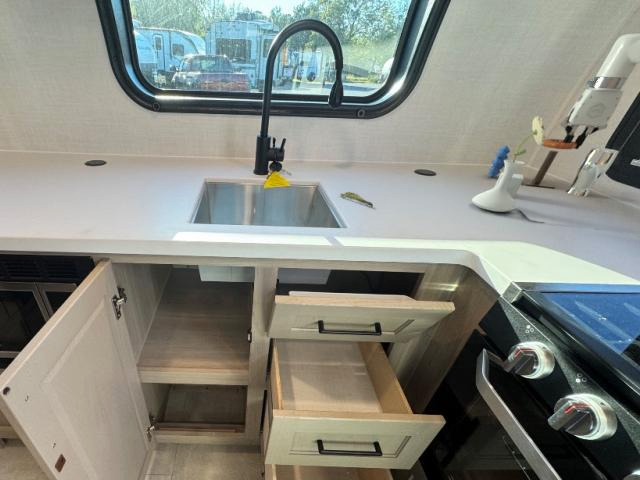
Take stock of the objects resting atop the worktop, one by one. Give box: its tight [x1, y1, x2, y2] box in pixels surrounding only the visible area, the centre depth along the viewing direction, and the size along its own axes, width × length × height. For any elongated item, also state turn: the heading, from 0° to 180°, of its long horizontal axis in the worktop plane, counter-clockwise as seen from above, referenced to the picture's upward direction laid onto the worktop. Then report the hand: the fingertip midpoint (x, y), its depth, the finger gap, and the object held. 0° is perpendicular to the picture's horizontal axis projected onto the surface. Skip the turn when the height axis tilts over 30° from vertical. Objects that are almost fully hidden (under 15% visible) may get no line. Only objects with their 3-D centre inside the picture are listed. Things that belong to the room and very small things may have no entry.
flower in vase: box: [471, 115, 547, 213], centre depth 91 cm, size 13×11×25 cm
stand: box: [520, 149, 559, 190], centre depth 116 cm, size 9×9×12 cm
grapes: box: [488, 145, 511, 178], centre depth 124 cm, size 12×7×12 cm, turn 134°
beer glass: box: [565, 147, 620, 197], centre depth 106 cm, size 7×7×15 cm
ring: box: [541, 138, 577, 150], centre depth 111 cm, size 10×10×2 cm
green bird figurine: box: [339, 191, 374, 209], centre depth 101 cm, size 4×13×2 cm, turn 32°
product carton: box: [494, 171, 525, 199], centre depth 105 cm, size 6×6×7 cm
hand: (569, 147), depth 110 cm, fingers closed on ring, 2 cm apart
